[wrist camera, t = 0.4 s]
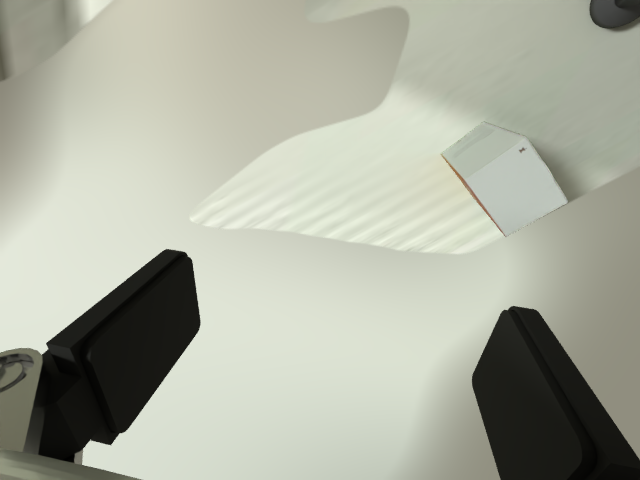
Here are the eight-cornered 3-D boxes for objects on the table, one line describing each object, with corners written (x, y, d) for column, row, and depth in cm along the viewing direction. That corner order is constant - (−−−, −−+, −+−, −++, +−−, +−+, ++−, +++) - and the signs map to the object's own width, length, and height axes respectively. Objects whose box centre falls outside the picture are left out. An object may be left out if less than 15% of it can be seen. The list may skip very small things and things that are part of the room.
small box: (439, 153, 41) (462, 179, 30) (484, 119, 39) (528, 134, 27) (472, 198, 43) (506, 239, 32) (517, 169, 41) (572, 202, 29)
